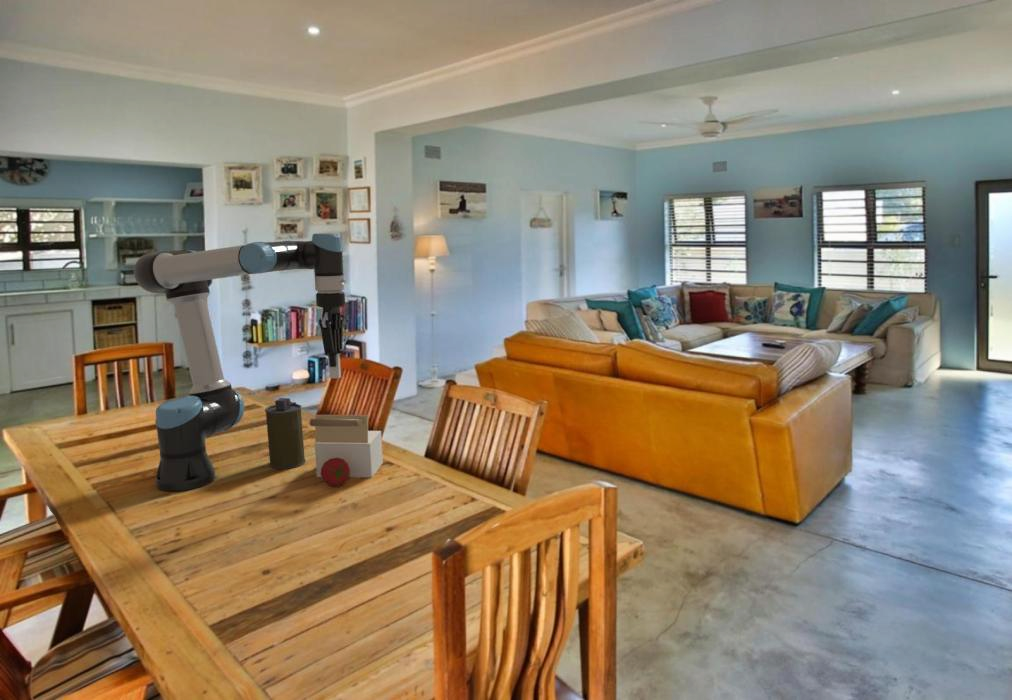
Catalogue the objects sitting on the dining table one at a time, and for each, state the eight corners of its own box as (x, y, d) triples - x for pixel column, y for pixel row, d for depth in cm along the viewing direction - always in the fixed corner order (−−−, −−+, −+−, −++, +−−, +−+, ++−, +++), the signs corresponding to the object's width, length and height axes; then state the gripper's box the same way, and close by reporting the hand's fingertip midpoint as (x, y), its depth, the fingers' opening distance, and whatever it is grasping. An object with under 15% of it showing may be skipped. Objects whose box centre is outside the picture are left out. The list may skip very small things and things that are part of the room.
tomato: (327, 451, 186) (335, 453, 179) (350, 464, 189) (359, 467, 182) (312, 477, 183) (319, 480, 177) (336, 490, 187) (344, 493, 180)
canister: (294, 470, 196) (289, 404, 192) (262, 468, 198) (257, 403, 194) (312, 457, 206) (307, 395, 203) (281, 456, 209) (276, 394, 205)
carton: (316, 476, 190) (314, 443, 189) (331, 462, 202) (328, 430, 200) (371, 477, 189) (369, 443, 187) (382, 462, 201) (381, 430, 199)
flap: (316, 442, 189) (306, 445, 181) (316, 414, 189) (306, 417, 181) (368, 442, 187) (360, 446, 180) (368, 415, 187) (360, 417, 180)
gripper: (335, 293, 172) (340, 383, 176) (351, 289, 185) (356, 372, 189) (307, 294, 173) (313, 382, 177) (325, 289, 185) (330, 372, 190)
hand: (335, 377), depth 183 cm, fingers closed
